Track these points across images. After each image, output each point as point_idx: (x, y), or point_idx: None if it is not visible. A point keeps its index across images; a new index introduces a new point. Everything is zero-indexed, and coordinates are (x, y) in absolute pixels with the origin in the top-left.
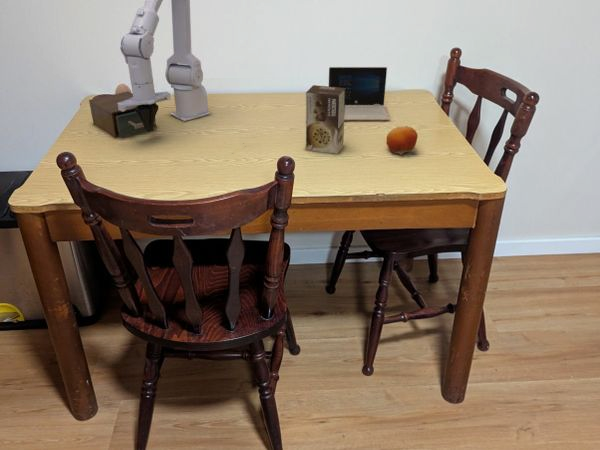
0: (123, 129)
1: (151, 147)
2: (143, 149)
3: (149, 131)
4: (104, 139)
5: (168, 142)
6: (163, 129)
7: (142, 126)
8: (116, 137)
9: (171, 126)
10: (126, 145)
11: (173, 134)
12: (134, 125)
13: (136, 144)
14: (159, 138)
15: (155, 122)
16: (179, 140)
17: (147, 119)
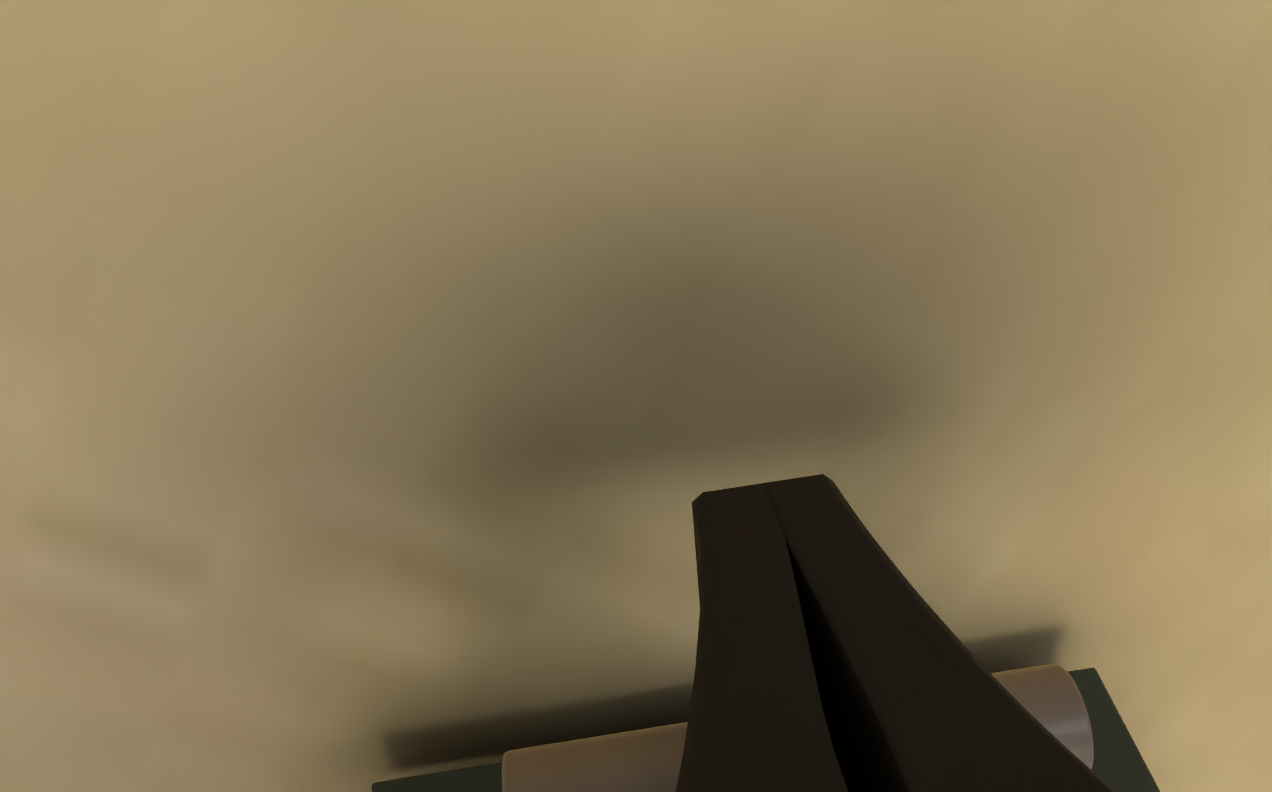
0: None
1: (878, 33)
2: (1090, 24)
3: (806, 481)
4: (1224, 712)
5: (370, 101)
6: (252, 716)
7: None
8: None
9: (66, 768)
10: (1177, 395)
11: (113, 463)
12: (1081, 754)
13: (1017, 353)
14: (479, 409)
15: (509, 769)
16: (35, 69)
17: (1005, 767)
